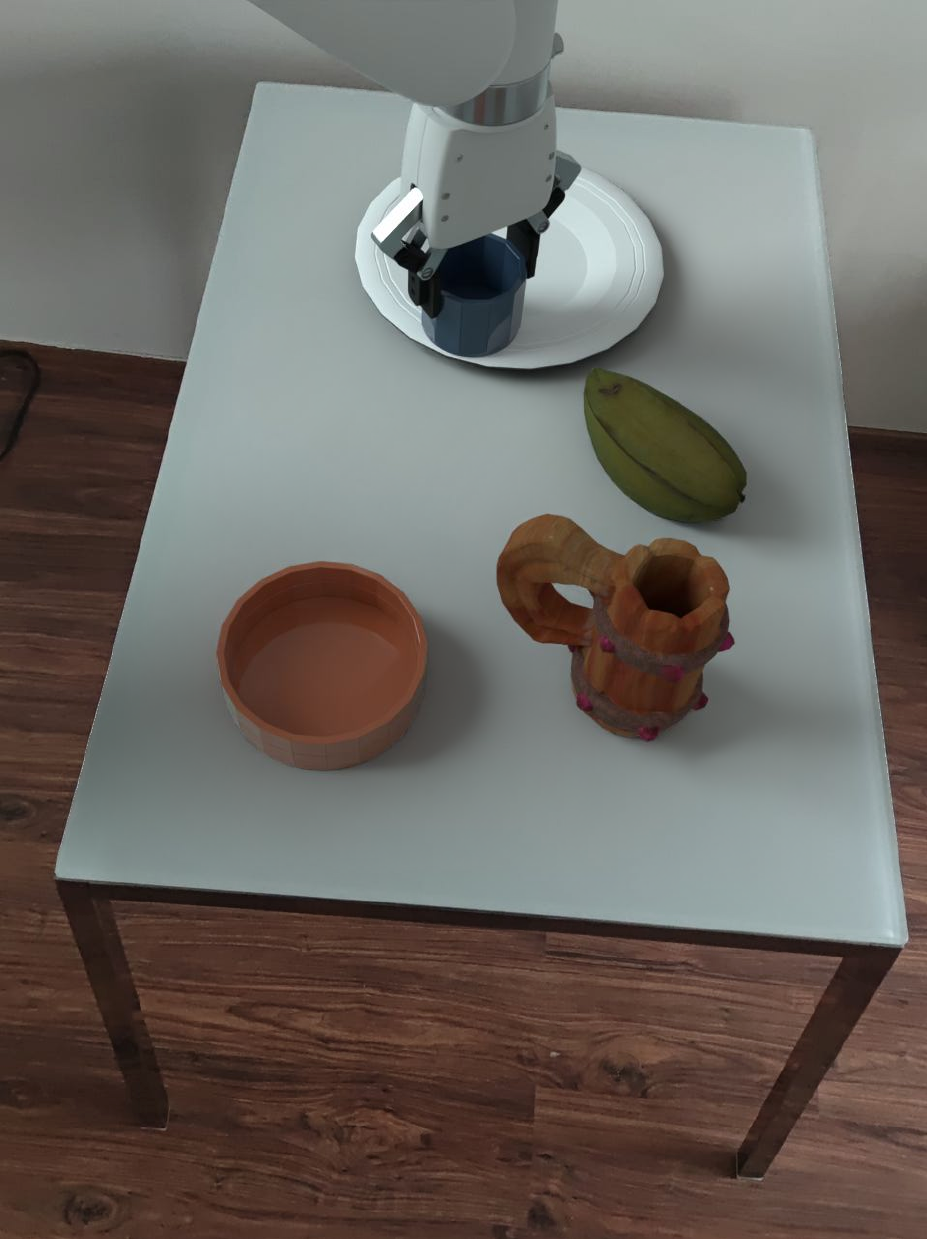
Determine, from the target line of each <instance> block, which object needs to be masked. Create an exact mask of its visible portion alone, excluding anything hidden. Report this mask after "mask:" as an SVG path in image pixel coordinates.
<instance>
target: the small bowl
mask: <svg viewBox="0 0 927 1239" xmlns="http://www.w3.org/2000/svg"><path fill="white" fill-rule="evenodd" d="M426 252H427V251H426ZM425 254H426V253H425ZM436 271H437V272H438V273H439V274H440V276H441V279H442V281H441V303H440V314H439V315H438V317H436V318H433V319H430V317H429V316H428V315H427V314H426V312H425V311H424V310H423V309H422V307H421V324H422V327H423V330H424V332H425V334H426V336H427V337H428V338H429V340H430V341H431V342H432V343H433V344H435V345H436V346H437V347H439V348H440V349H442V350H444V351H446V352H448V353H451V354H454V355H457V356H463V357H483V356H488V355H492V354H494V353H497V352H499V351H501V350H503V349H504V348H506V347H507V346H508V345H509V344H510V343H511V342H512V341H513V340H514V339H515V337H516V335H517V333H518V330H519V328H520V326H521V320H522V312H523V304H524V296H525V288H526V280H527V272H526V260H525V258H524V256H523V255H522V254H521V253H520V252H519V251H518V249H517V248H516V247H515V246H514V245H513V244H512V243H511V241H510V240H507V239H505V238H502V237H500V236H497V235H495V234H493V233H489V234H487V235H484V236H482V237H479V238H476V239H474V240H471V241H469V242H466V243H463V244H461V245H458V246H455V247H451V248H448V250H447V252H446V254H445V255H444V257H443V259H442V261H441V262H440V264H439V266H438V268H437V269H436Z"/></svg>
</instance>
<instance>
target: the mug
mask: <svg viewBox="0 0 927 1239" xmlns="http://www.w3.org/2000/svg"><path fill="white" fill-rule="evenodd" d="M495 569H496V571H495V572H496V574H495V575H496V576H495V577H496V586H497V591H498V593H499V597H500V601H501V603H502V605H503V607H504V608H505V609H506V611H507V612H508V614H509V615H510V616H511V618H512V620H513V621H514V622H515V623H516V624H517V625H518V626H519V627H520V629H522V630H523V631H524V632H525V634H526V635H528V636H529V637H530V638H531V639H532V641H533V642H537V643H540V644H547V645H548V644H549V645H550V644H551V645H561V646H567V649H568V652H569V653H571V654H572V655H571V662H570V680H571V690H572V693H573V695H574V698H575V705H576V707H577V708H578V709H579V710H580V711H582V712H583V713H584V714H585V715H586V716H587V717H589V718H590V719H591V720H593V721H594V722H595V723H596V725H599V726H600V728H602V729H604V730H606V731H608V732H609V733H612V734H614V735H616V736H619V737H620V736H621V737H625V738H633V737H638V736H639V738H640V739H641V741H643V742H646V743H648V742H654V741H655V740H656V739H657V738H658V737H659V734H660V733H662V732H664V731H667V730H669V729H671V728H672V727H674V726H676V725H678V723H680V722H682V721H683V720H684V719H685V718H686V717H687V716H688V715H689V714H690V713H691V712H692V711H701V710H703V709H705V708H706V707H707V705H708V701H709V697H708V696H707V695H706V694H705V692H704V691H703V683H704V673H703V670H704V668H705V665H707V664H708V663H709V662H710V661H711V660H713V659H714V658H715V657H716V655H717V654H718V653H723V652H726V651H728V650H731V648H732V647H733V646H734V645H735V644H736V642H735V639H734V636H733V635H732V632H730V631H729V628H730V622H731V619H730V611H729V607H728V604H727V599H728V596H729V593H730V591H731V587H730V582H729V578H728V576H727V573H726V572H725V570H724V569H723V567H722V566H721V564H720V563H719V562H718V560H717V559H715V557H713V556H707V555H703V554H701V553H700V551H699V549H698V548H697V546H696V545H695V544H693V543H691V542H688V541H687V540H685V539H678V538H673V537H660V538H656V539H654V540H653V541H652V542H651V543H650V544H649V545H645V544H642V543H639V544H635V545H634V546H632V547H631V548H630V549H629V550H628V551H626V553H625V554H622V553H619V552H616V551H614V550H612V549H609V548H607V547H606V546H604V545H603V544H600V543H599V542H598V541H597V540H596V539H594V538H593V537H592V536H591V535H590V534H589V533H587V531H585V530H584V528H582V527H581V526H580V525H578V523H576V522H575V521H573V520H572V519H571V518H568V517H565V516H564V515H560V514H559V515H558V514H552V513H551V514H550V513H544V514H542V515H538V516H534V517H531V518H530V519H528V520H525V521H524V522H522V523H520V524H519V525H517V527H516V528H515V529H514V530H513V531H512V532H511V533H510V536H509V538H508V540H507V542H506V544H505V546H504V547H503V549H502V551H501V553H500V554H499V556H498V559H497V562H496V568H495ZM553 584H560V585H563V586H578V587H582V588H584V589H586V590H587V591H588V593H589V594H590V596H591V598H592V599H593V604H592V608H591V607H588V606H584V605H581V604H576V603H573V602H571V601H570V600H568V599H567V598H566V597H565V596H563V595H562V594H561V593H560V592H559V591H558V590H557V589H556V588H555V586H554V585H553Z"/></svg>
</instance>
